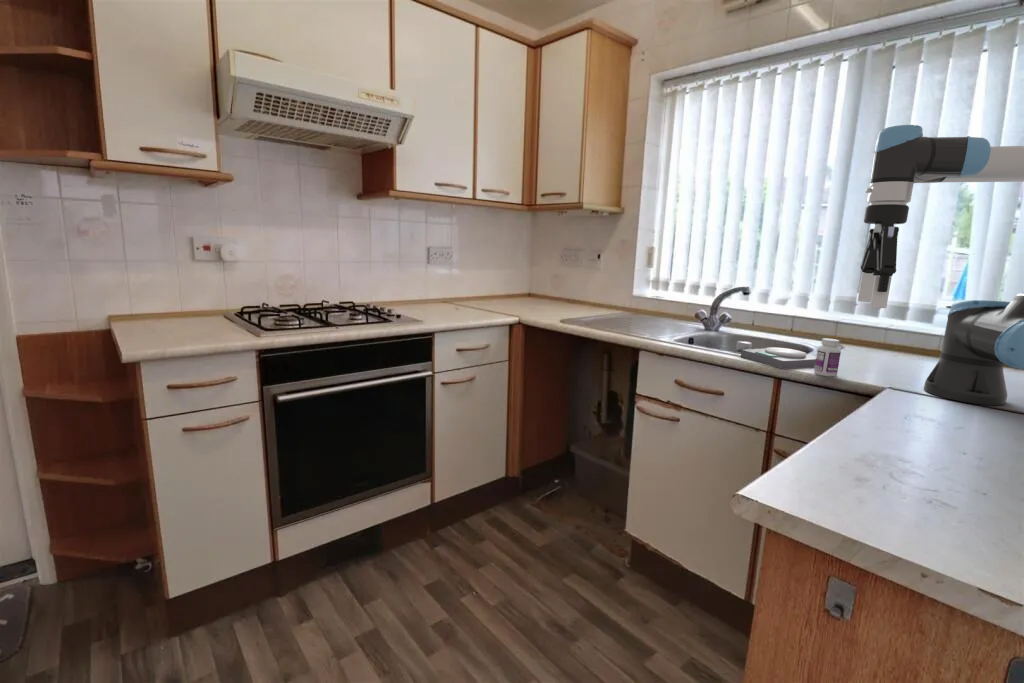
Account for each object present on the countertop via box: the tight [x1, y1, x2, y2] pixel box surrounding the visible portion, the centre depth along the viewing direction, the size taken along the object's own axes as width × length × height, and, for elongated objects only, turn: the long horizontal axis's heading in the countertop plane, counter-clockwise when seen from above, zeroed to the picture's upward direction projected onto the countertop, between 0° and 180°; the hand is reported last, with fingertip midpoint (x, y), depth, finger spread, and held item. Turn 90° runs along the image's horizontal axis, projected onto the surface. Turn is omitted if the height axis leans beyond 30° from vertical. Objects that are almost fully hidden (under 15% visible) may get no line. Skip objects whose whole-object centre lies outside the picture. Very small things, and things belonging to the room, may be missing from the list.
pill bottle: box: [814, 337, 842, 378], centre depth 140 cm, size 5×5×10 cm
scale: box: [740, 346, 817, 370], centre depth 155 cm, size 16×15×3 cm
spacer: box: [735, 340, 753, 353], centre depth 167 cm, size 4×4×3 cm
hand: (870, 304), depth 114 cm, fingers open, 13 cm apart
